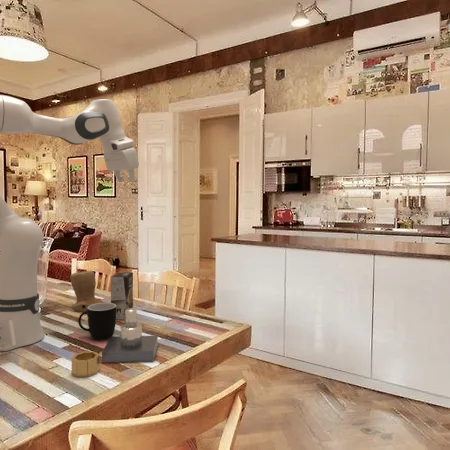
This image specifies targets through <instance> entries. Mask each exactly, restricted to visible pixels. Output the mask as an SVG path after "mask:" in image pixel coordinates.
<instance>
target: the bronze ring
mask: <svg viewBox="0 0 450 450" xmlns="http://www.w3.org/2000/svg"><path fill="white" fill-rule="evenodd" d="M100 367H101V366H100V353H98V352H97V351H93V350H91V351H82V352H78V353H76V354H73V356H72V357H71V375H73V376H75V377H76V378H88V377H91V376H93V375H96V374H98V372H99V370H100V369H101V368H100Z"/></svg>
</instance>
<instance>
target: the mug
mask: <svg viewBox="0 0 450 450" xmlns="http://www.w3.org/2000/svg"><path fill="white" fill-rule="evenodd" d="M85 315H86V316H87V323H88V328H86V327H85V326H83V324H82V322H81V319H82V317H83V316H85ZM77 320H78V321H77V322H78V323H77V324H78V326H79V327H80V329H81V330H83V331H85V332H88V333H89V334H90V337H91V339H92V340H94V341H105V340H109V339H110V338H111V336H114V333H115V330H116V324H117V319H116V305H115V304H113V303H111V302H101V303H97V304H92V305H90V306H88V307H87V311H86V312H81V314H80V315H79V317H78V319H77Z"/></svg>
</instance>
